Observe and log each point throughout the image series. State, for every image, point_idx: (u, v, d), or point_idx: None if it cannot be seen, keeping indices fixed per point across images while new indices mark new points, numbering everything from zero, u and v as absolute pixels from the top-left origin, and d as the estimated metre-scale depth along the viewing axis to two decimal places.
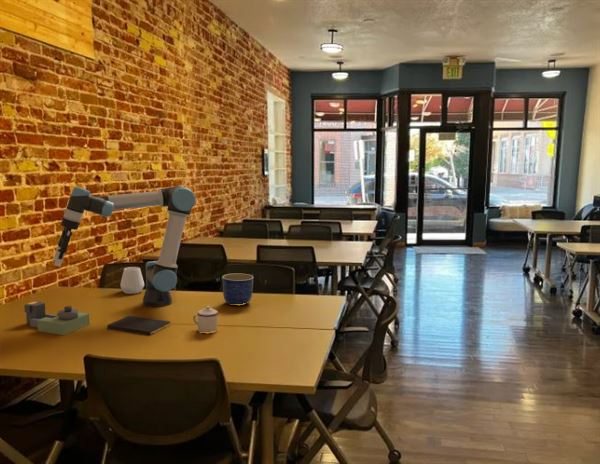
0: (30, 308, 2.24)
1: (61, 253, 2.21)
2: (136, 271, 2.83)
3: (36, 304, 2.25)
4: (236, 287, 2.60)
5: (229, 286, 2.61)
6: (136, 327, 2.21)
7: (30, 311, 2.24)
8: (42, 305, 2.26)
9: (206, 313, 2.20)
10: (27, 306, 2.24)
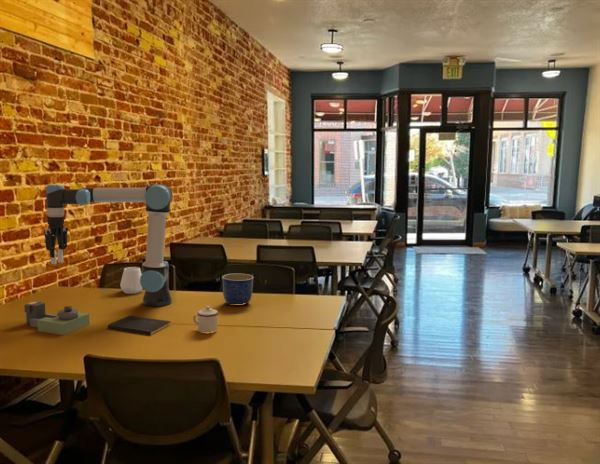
0: (30, 308, 2.24)
1: (50, 252, 2.39)
2: (136, 271, 2.83)
3: (36, 304, 2.25)
4: (236, 287, 2.60)
5: (229, 286, 2.61)
6: (136, 327, 2.21)
7: (30, 311, 2.24)
8: (42, 305, 2.26)
9: (206, 313, 2.20)
10: (27, 306, 2.24)
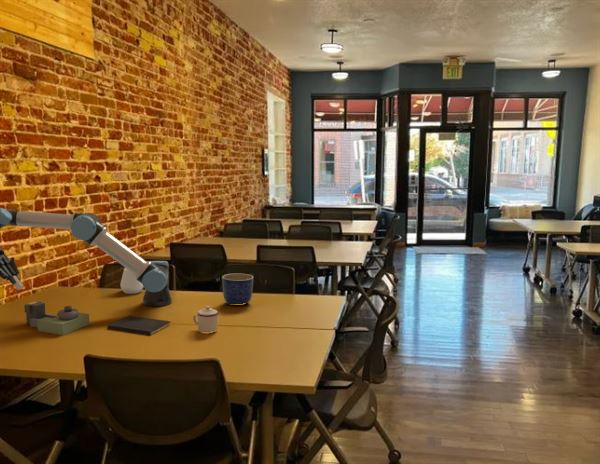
0: (30, 308, 2.24)
1: (9, 279, 2.27)
2: None
3: (36, 304, 2.25)
4: (236, 287, 2.60)
5: (229, 286, 2.61)
6: (136, 327, 2.21)
7: (30, 311, 2.24)
8: (42, 305, 2.26)
9: (206, 313, 2.20)
10: (27, 306, 2.24)
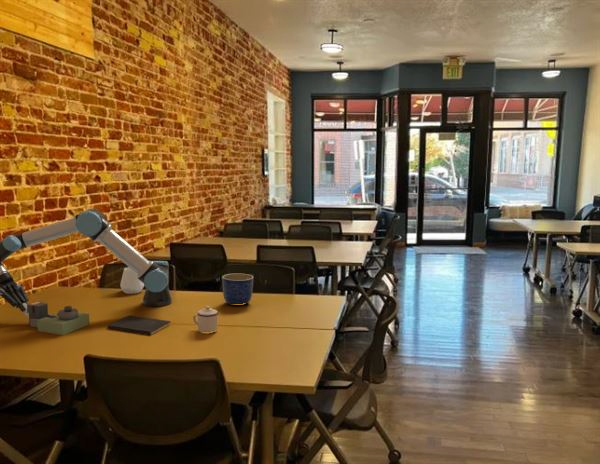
0: (33, 308, 2.23)
1: (19, 306, 2.26)
2: None
3: (39, 304, 2.25)
4: (236, 287, 2.60)
5: (229, 286, 2.61)
6: (136, 327, 2.21)
7: (33, 311, 2.23)
8: (45, 305, 2.26)
9: (206, 313, 2.20)
10: (30, 306, 2.23)
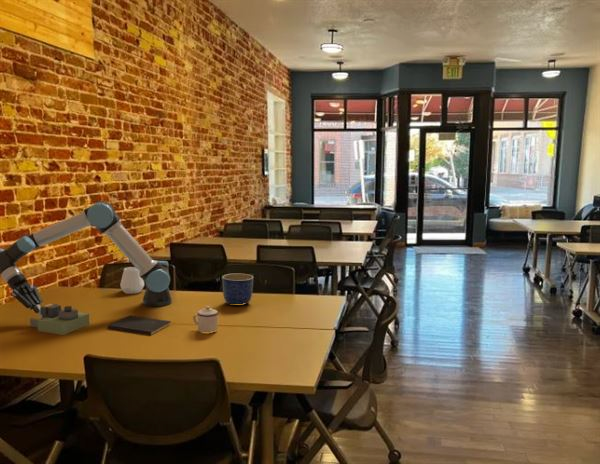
0: (46, 310, 2.21)
1: (33, 308, 2.25)
2: (136, 271, 2.83)
3: (52, 306, 2.22)
4: (236, 287, 2.60)
5: (229, 286, 2.61)
6: (136, 327, 2.21)
7: (46, 313, 2.21)
8: (58, 307, 2.24)
9: (206, 313, 2.20)
10: (43, 308, 2.21)
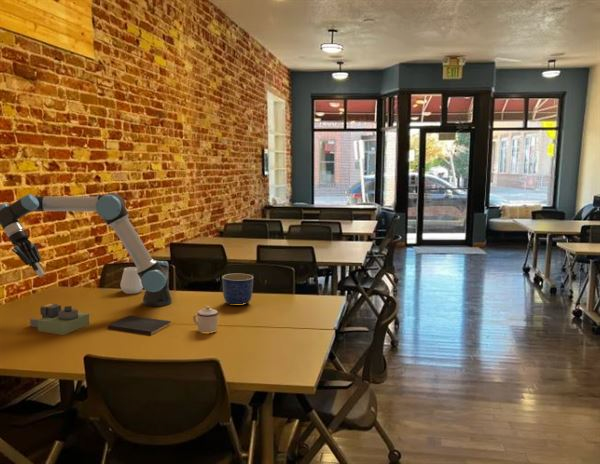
0: (46, 310, 2.21)
1: (32, 265, 2.31)
2: (136, 271, 2.83)
3: (52, 306, 2.22)
4: (236, 287, 2.60)
5: (229, 286, 2.61)
6: (136, 327, 2.21)
7: (46, 313, 2.21)
8: (58, 307, 2.24)
9: (206, 313, 2.20)
10: (43, 308, 2.21)
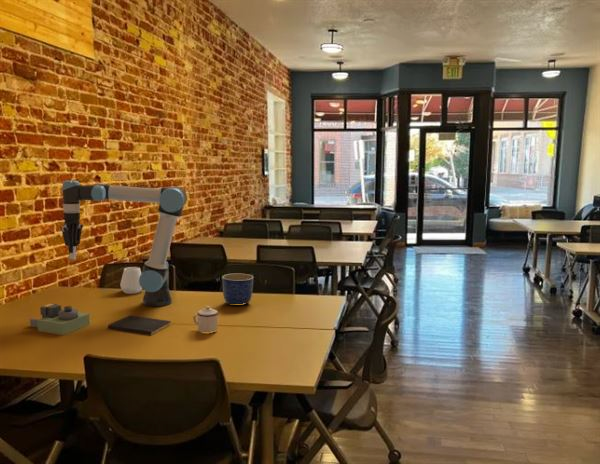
0: (46, 310, 2.21)
1: (69, 247, 2.43)
2: (136, 271, 2.83)
3: (52, 306, 2.22)
4: (236, 287, 2.60)
5: (229, 286, 2.61)
6: (137, 327, 2.21)
7: (46, 313, 2.21)
8: (58, 307, 2.24)
9: (206, 313, 2.20)
10: (43, 308, 2.21)
